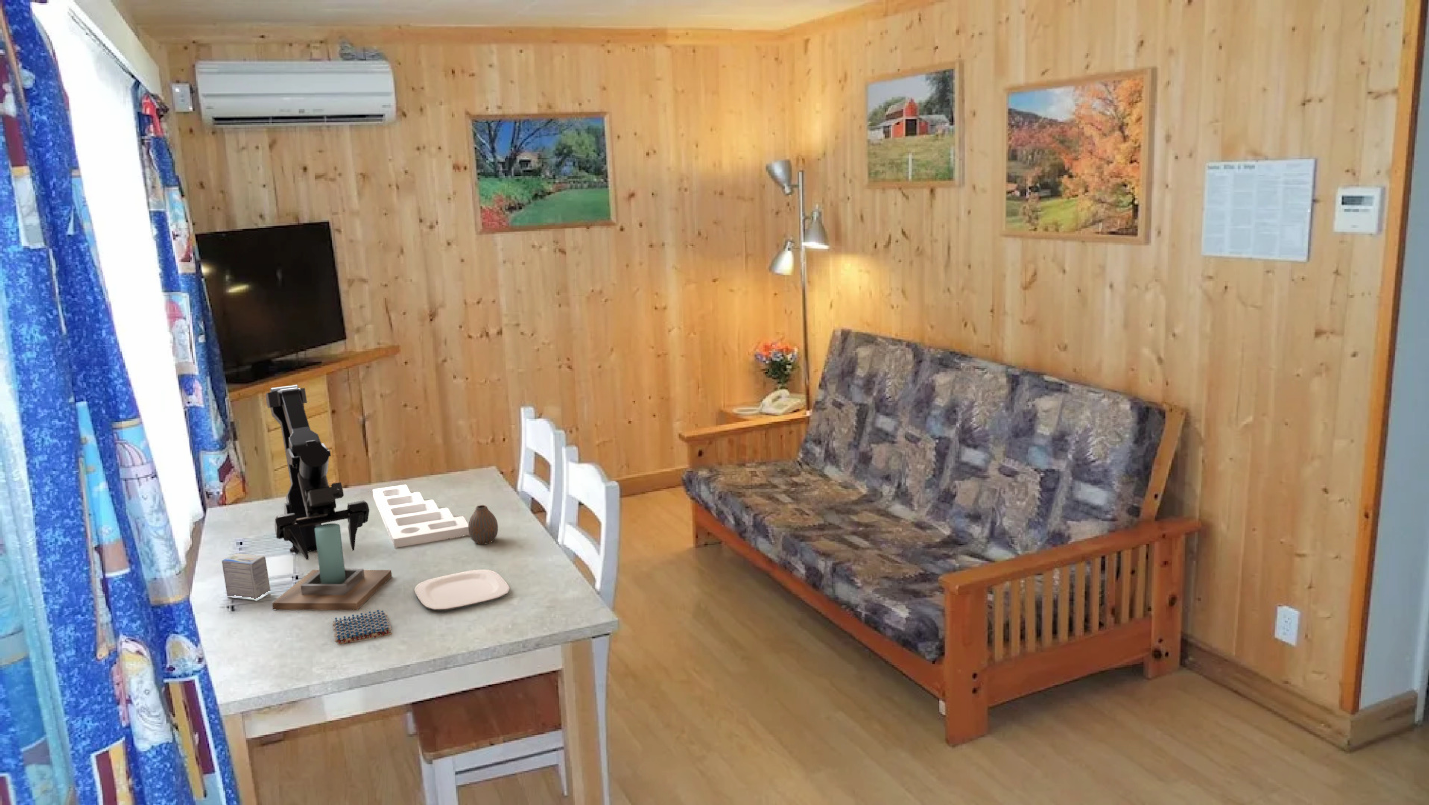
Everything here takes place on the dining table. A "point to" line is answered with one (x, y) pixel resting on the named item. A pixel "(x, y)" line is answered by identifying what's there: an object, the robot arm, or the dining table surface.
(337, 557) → the pin
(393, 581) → the dining table surface
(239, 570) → the medicine box
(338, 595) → the board
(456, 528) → the holder
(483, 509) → the vase
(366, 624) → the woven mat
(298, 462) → the robot arm
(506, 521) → the dining table surface
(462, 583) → the plate
